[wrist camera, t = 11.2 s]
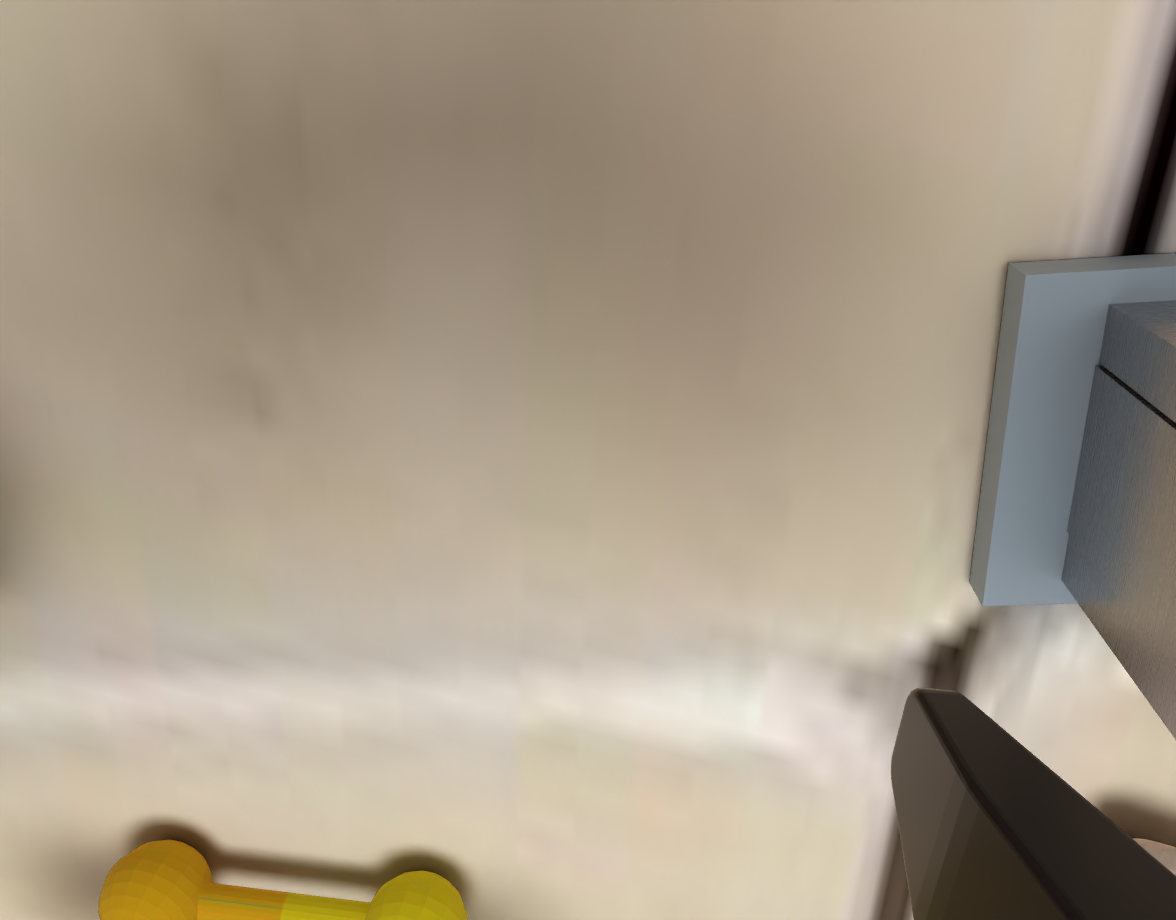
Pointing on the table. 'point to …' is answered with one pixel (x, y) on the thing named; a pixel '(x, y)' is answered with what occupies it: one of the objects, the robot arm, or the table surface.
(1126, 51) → the table surface
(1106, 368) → the open metal box
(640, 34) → the table surface
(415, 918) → the educational toy
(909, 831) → the robot arm
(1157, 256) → the shaft stand
